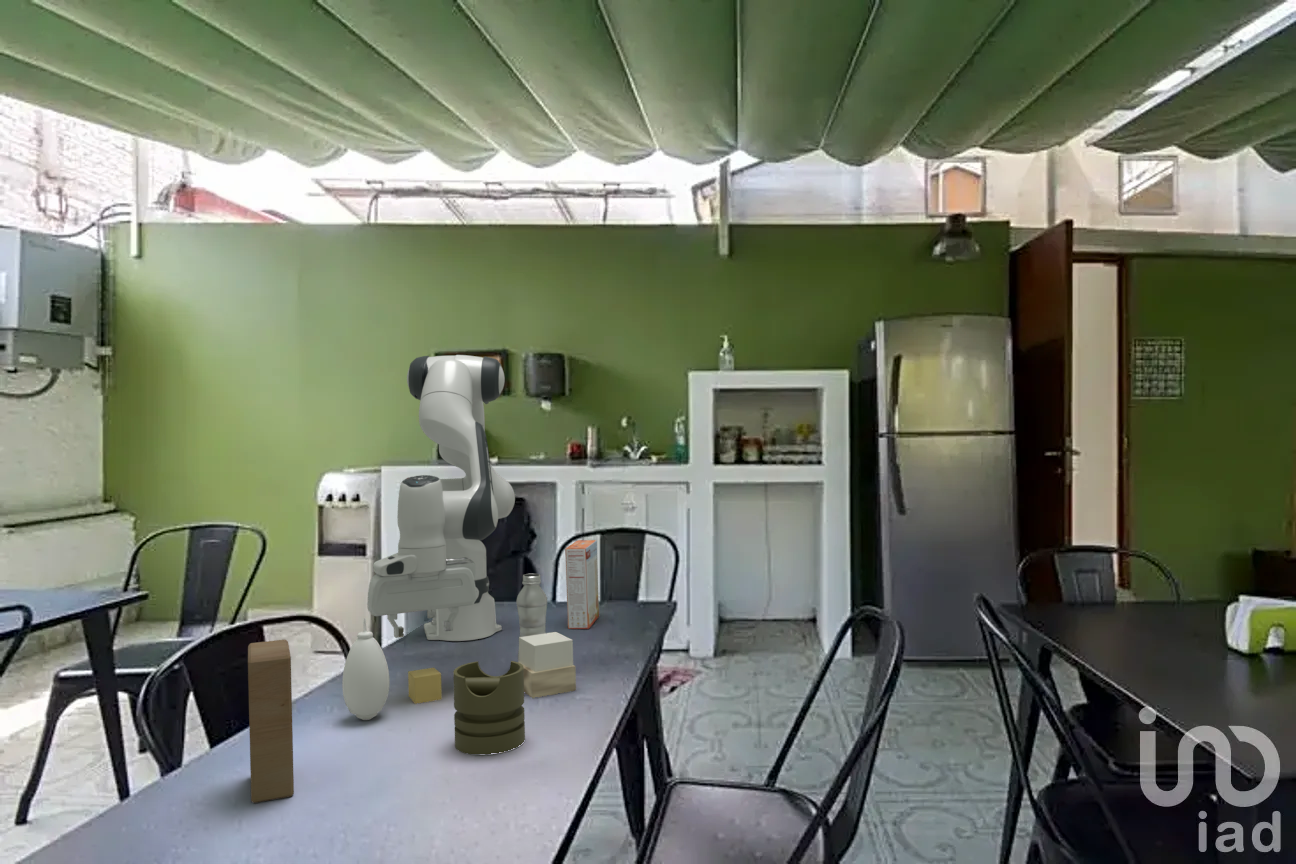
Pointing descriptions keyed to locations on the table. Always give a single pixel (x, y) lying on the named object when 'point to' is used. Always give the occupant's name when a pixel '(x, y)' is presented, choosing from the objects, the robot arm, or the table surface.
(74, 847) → the table surface
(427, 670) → the mustard cube
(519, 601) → the plastic bottle
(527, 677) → the birch tower base
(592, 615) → the cracker box
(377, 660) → the air blower bulb
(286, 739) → the decorative block
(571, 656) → the painted tower top
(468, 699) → the piston
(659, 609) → the table surface
